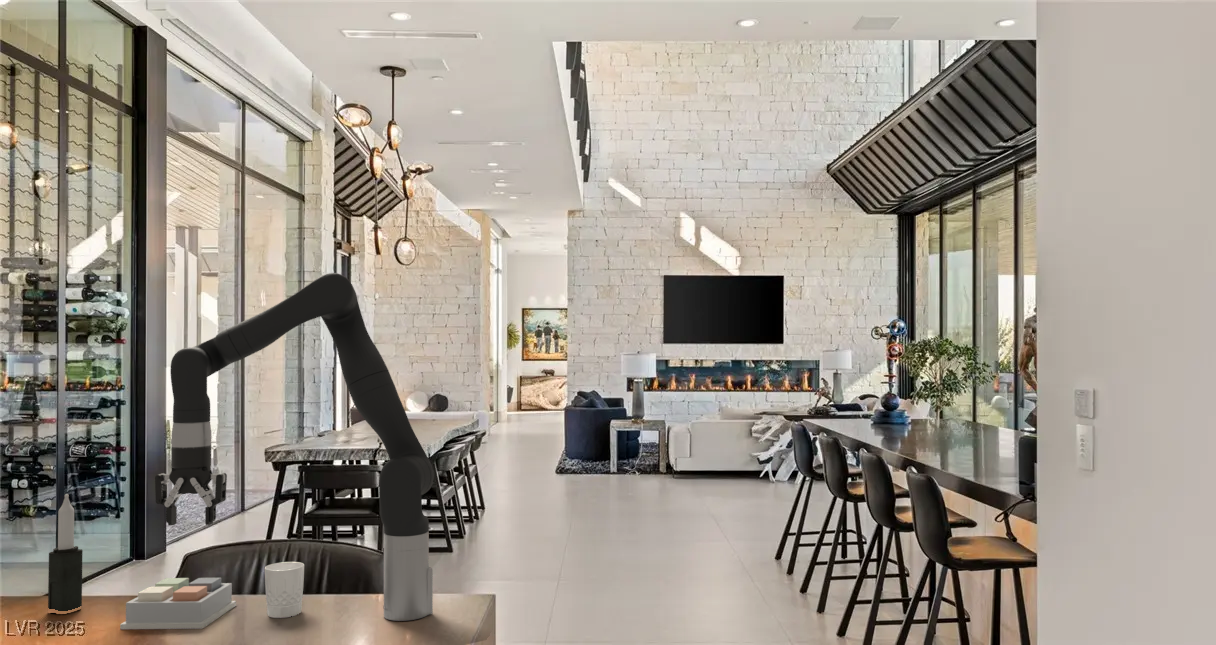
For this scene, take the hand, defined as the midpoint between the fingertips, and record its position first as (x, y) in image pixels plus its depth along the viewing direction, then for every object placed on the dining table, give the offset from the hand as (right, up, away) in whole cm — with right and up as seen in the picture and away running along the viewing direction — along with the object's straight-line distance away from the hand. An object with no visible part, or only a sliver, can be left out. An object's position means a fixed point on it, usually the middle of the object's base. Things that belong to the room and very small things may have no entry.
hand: (190, 524), depth 183 cm
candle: (-31, -21, +8) cm, 38 cm away
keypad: (-3, -20, +3) cm, 20 cm away
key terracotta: (0, -17, -1) cm, 17 cm away
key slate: (0, -17, +6) cm, 18 cm away
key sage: (-7, -17, +6) cm, 19 cm away
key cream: (-7, -17, -1) cm, 18 cm away
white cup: (+18, -20, +5) cm, 27 cm away
